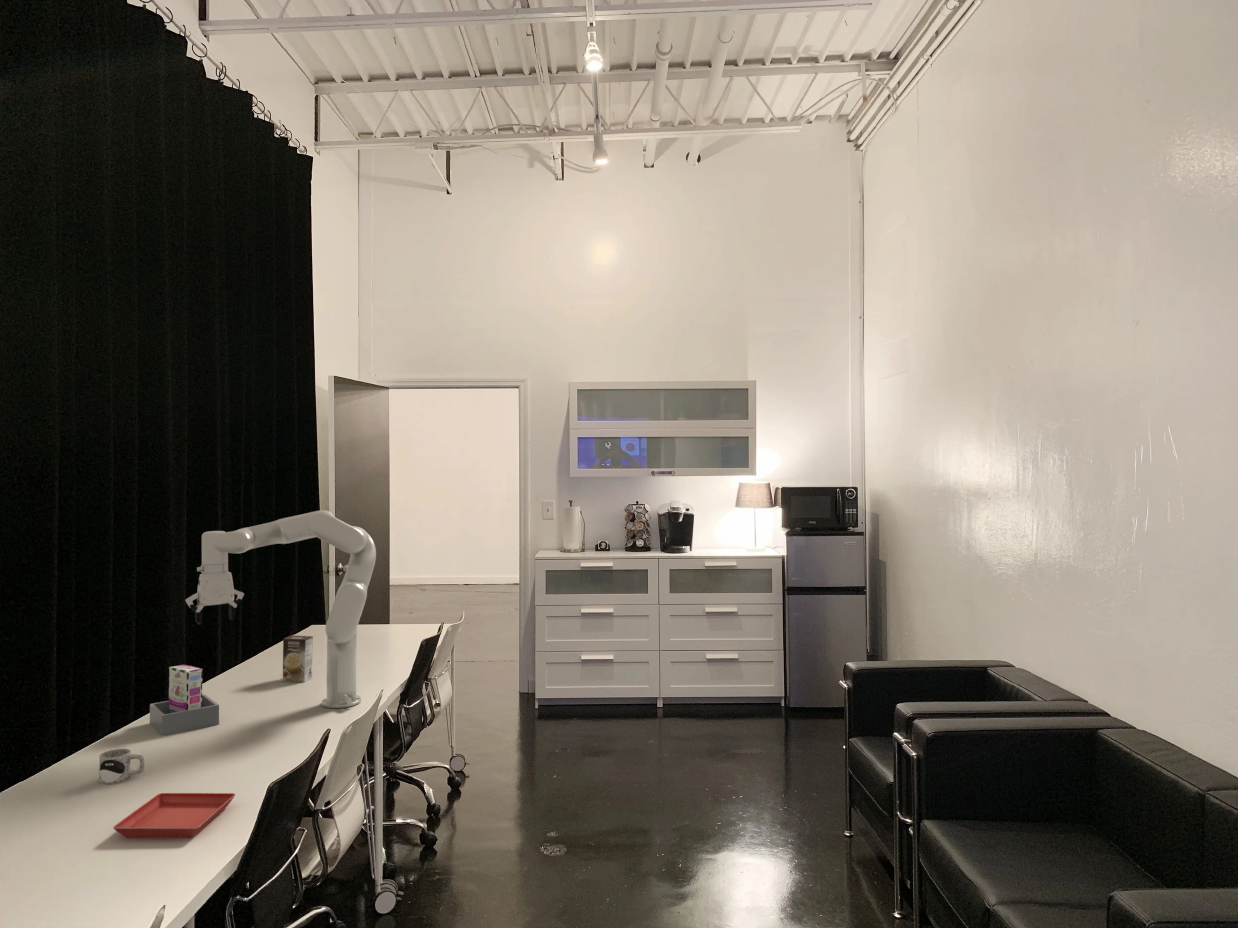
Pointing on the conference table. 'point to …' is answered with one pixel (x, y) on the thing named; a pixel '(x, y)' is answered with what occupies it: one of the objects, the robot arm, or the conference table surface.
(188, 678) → the candy bar box
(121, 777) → the mug
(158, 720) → the bin
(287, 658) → the coffee box
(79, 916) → the conference table surface
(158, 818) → the plant saucer
